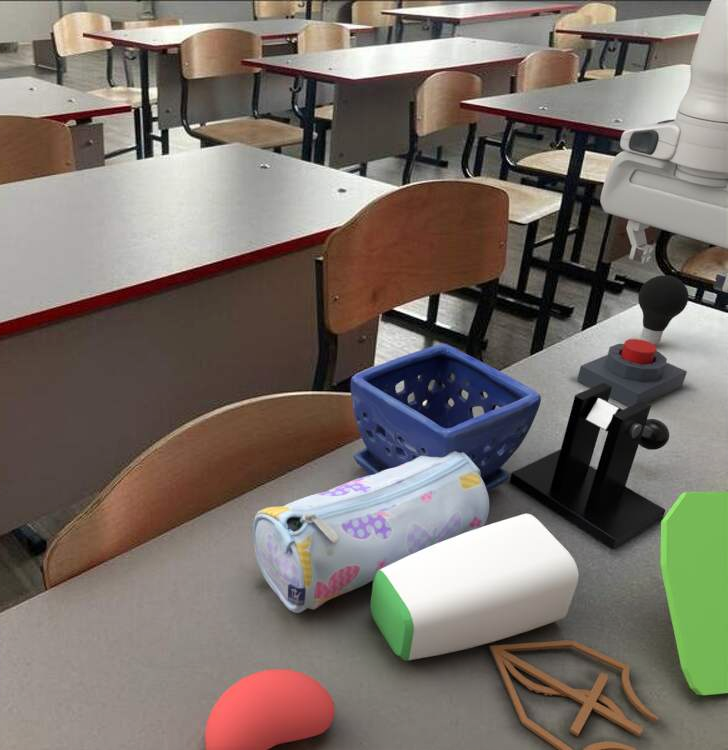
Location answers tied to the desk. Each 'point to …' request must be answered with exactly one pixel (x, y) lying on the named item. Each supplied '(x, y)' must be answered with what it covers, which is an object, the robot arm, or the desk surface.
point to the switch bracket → (594, 474)
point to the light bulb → (660, 305)
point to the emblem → (569, 692)
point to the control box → (632, 376)
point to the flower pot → (440, 412)
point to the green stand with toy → (698, 586)
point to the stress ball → (269, 711)
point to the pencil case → (366, 527)
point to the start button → (638, 351)
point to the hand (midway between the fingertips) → (679, 274)
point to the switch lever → (652, 434)
